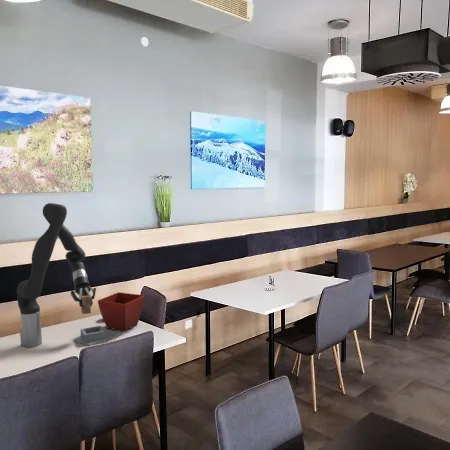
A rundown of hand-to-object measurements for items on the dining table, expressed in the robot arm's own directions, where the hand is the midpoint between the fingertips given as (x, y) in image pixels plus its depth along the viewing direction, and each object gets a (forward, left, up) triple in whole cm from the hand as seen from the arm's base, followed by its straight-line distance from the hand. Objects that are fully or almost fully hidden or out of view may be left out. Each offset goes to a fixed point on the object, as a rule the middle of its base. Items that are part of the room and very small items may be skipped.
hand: (86, 306), depth 239 cm
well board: (+3, -4, -17) cm, 18 cm away
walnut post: (+1, +2, -4) cm, 5 cm away
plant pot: (+22, -1, -18) cm, 29 cm away
